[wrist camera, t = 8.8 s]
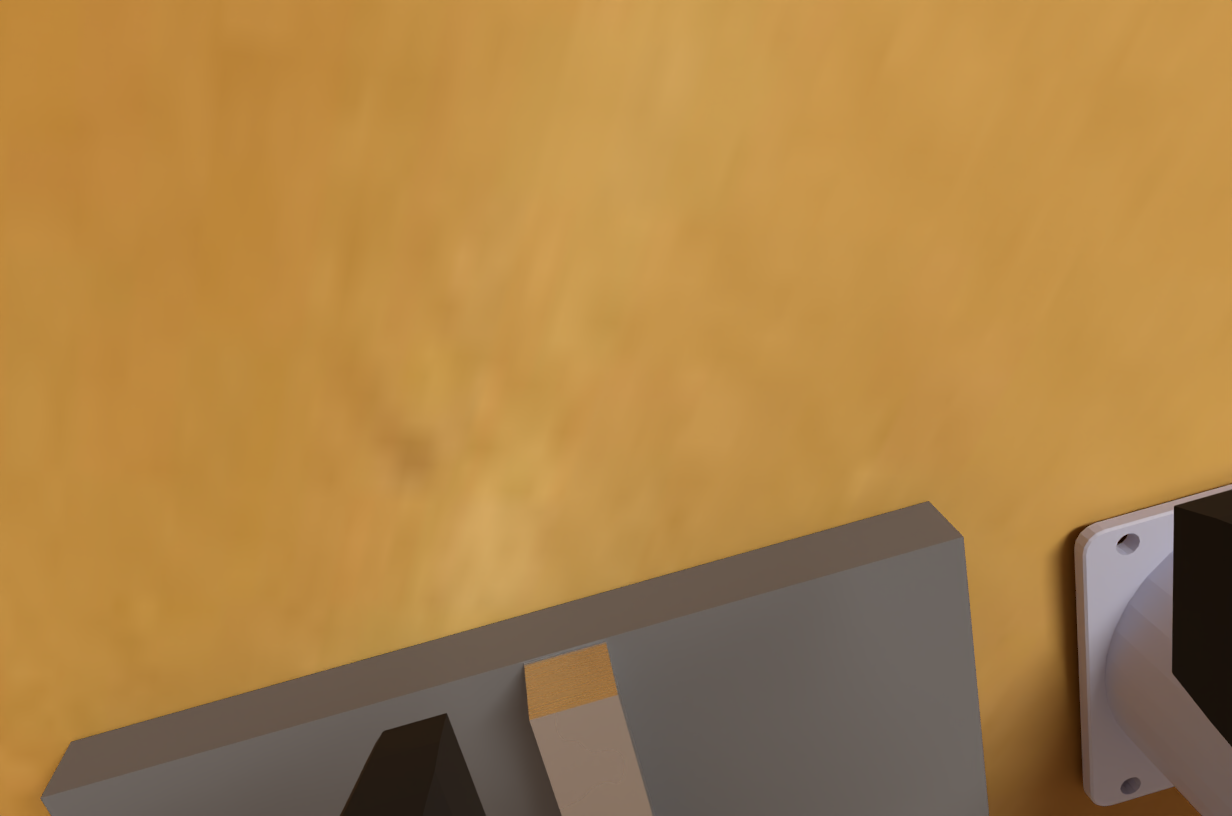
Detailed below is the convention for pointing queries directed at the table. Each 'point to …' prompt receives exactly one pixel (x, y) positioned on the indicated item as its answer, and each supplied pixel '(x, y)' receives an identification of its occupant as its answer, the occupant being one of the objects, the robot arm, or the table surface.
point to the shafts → (585, 734)
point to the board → (627, 697)
